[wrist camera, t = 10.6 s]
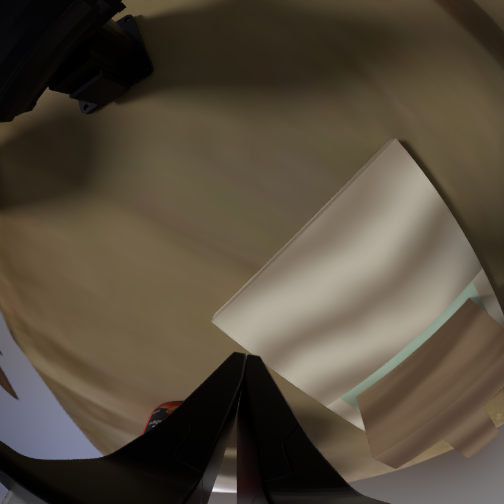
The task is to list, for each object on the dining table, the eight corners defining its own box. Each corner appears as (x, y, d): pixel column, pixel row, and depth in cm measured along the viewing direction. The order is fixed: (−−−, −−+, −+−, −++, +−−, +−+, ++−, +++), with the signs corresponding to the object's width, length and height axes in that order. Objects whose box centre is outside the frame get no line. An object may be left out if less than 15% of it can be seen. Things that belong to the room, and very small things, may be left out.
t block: (355, 396, 22) (372, 458, 15) (468, 297, 19) (516, 339, 12) (414, 438, 24) (431, 483, 17) (501, 365, 21) (532, 401, 14)
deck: (214, 313, 22) (211, 321, 21) (388, 139, 17) (395, 138, 16) (400, 446, 26) (402, 453, 25) (512, 351, 21) (518, 356, 20)
